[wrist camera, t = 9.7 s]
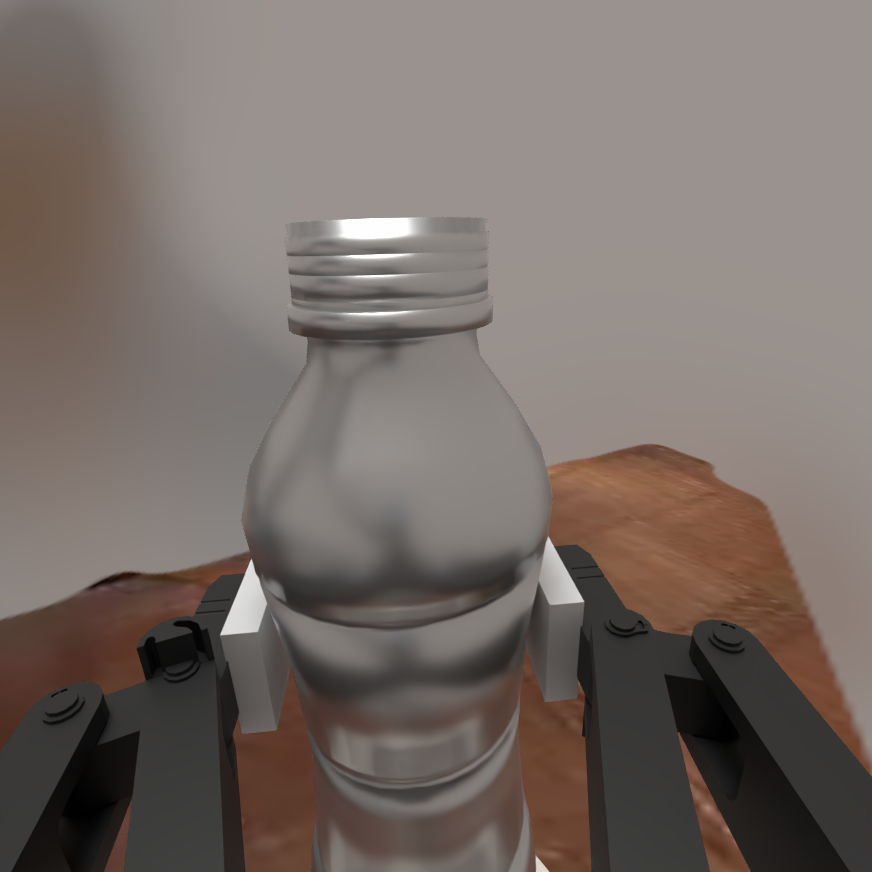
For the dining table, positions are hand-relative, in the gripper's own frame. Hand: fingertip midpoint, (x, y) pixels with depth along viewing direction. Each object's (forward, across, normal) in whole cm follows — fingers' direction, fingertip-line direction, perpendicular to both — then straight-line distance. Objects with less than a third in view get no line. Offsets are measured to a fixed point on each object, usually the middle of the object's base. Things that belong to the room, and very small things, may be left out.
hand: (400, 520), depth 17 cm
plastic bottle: (-5, 0, -11) cm, 12 cm away
